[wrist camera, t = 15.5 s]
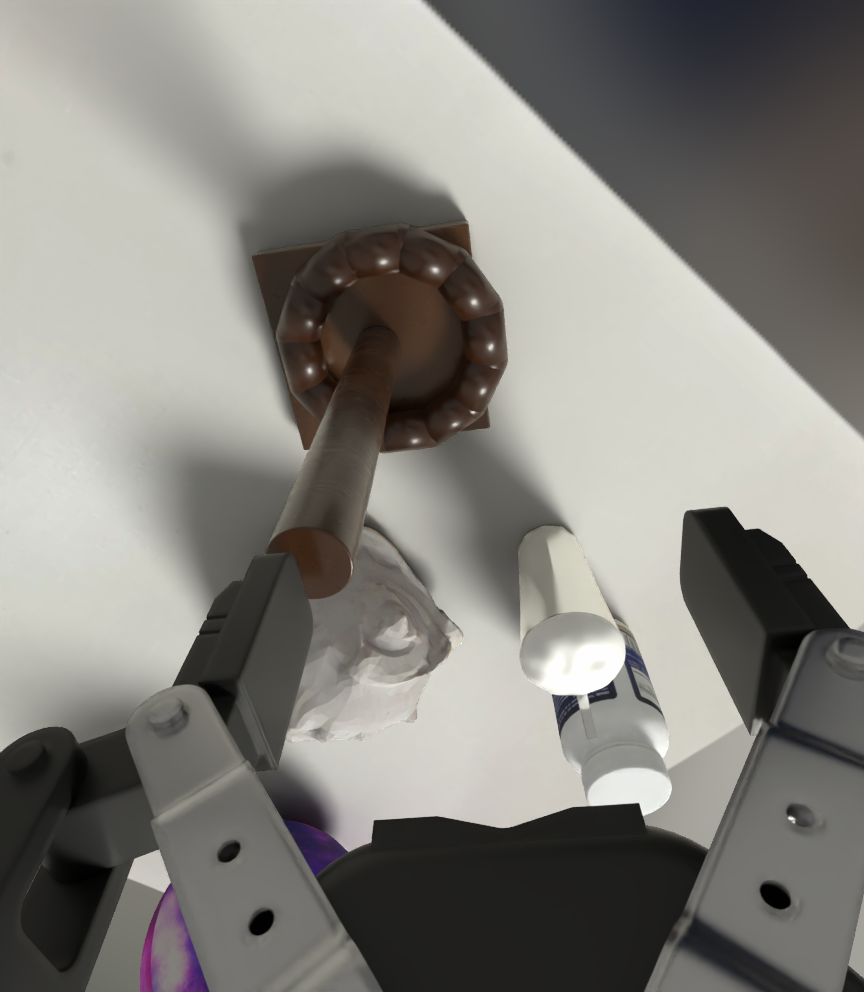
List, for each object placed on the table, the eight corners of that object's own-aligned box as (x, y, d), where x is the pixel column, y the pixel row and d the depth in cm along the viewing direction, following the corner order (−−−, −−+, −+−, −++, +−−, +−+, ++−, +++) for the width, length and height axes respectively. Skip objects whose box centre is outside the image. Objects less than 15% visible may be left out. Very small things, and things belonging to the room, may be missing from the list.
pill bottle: (536, 674, 39) (559, 823, 31) (553, 607, 37) (584, 751, 28) (621, 682, 40) (668, 832, 31) (645, 616, 37) (703, 762, 28)
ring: (313, 452, 31) (306, 469, 29) (257, 242, 26) (245, 250, 24) (513, 427, 30) (516, 444, 28) (493, 205, 25) (496, 211, 23)
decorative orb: (327, 910, 54) (289, 1158, 41) (160, 850, 50) (59, 1103, 37) (424, 823, 47) (414, 1085, 34) (240, 745, 44) (151, 1009, 31)
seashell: (218, 665, 40) (154, 816, 31) (277, 487, 33) (216, 615, 24) (400, 720, 42) (388, 875, 33) (490, 562, 35) (503, 705, 27)
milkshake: (518, 600, 37) (539, 747, 28) (498, 523, 34) (514, 660, 25) (598, 584, 36) (645, 730, 27) (583, 505, 33) (630, 639, 25)
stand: (308, 440, 32) (184, 718, 17) (258, 250, 27) (29, 403, 12) (488, 418, 31) (524, 690, 16) (467, 219, 26) (490, 341, 12)
